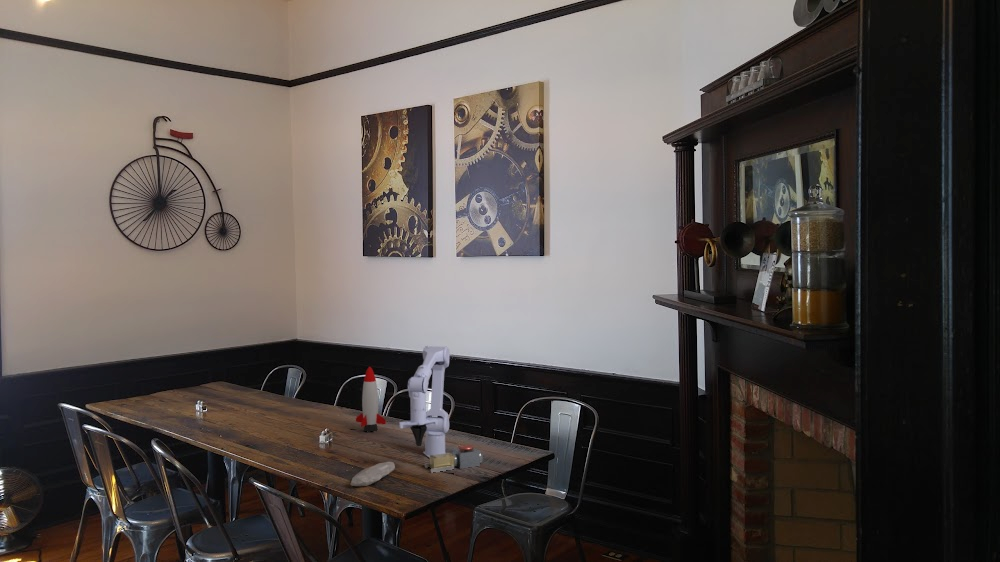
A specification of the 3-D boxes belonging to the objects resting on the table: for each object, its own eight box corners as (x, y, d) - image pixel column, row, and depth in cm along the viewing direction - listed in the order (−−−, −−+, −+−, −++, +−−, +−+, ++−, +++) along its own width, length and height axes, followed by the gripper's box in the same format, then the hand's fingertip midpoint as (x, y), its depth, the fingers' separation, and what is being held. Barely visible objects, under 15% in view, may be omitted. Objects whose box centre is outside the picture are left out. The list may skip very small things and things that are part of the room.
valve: (424, 467, 265) (424, 448, 265) (476, 460, 274) (476, 441, 273) (431, 473, 257) (431, 453, 257) (484, 465, 266) (484, 446, 266)
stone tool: (341, 474, 242) (380, 454, 265) (341, 488, 243) (380, 467, 266) (369, 477, 238) (406, 457, 261) (369, 492, 238) (407, 470, 261)
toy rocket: (354, 430, 326) (361, 366, 331) (378, 432, 330) (384, 368, 336) (360, 432, 315) (367, 366, 321) (384, 433, 320) (390, 368, 325)
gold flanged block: (429, 468, 264) (429, 455, 264) (449, 465, 267) (449, 452, 267) (434, 471, 259) (433, 458, 259) (454, 469, 263) (454, 455, 262)
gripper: (402, 413, 252) (402, 450, 253) (440, 409, 258) (440, 445, 259) (397, 409, 259) (397, 445, 259) (434, 405, 265) (434, 441, 265)
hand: (418, 445), depth 259 cm, fingers closed
